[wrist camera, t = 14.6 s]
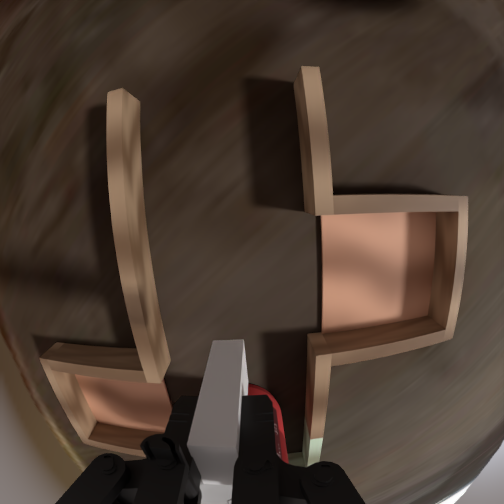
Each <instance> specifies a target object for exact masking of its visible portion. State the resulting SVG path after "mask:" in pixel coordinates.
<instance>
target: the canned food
mask: <svg viewBox="0 0 504 504" xmlns="http://www.w3.org/2000/svg"><path fill="white" fill-rule="evenodd" d="M266 394H267V395H268V397H269V398H270V400H271V401H272V402H273V415H274V429H275V444H276V452H277V455H278V456H279V458H280V459H282V460H283V461H284V462H286V463H288V464H289V462H288V455H287V448H286V441H285V434H284V427H283V420H282V414H281V409H280V406H279V404H278V403H277V401H276V399H275V398H274V396H273V395H272V394H271V393H270V392H268V391H267V390H265V389H264V388H261V387H259V386H257V385H253V384H248V395H266ZM200 490H201V492H202V499H201V504H231V498H232V485H214V484H204V483H203V481H202V479H201V482H200Z"/></svg>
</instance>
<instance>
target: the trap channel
mask: <svg viewBox="0 0 504 504" xmlns="http://www.w3.org/2000/svg"><path fill="white" fill-rule="evenodd" d="M294 93H295V102H296V111H297V120H298V130H299V140H300V152H301V164H302V177H303V192H304V209H305V212H306V213H309V214H312V215H315V216H321V245H322V323H321V332H318V333H310V334H307V375H306V400H305V419H304V435H303V448H302V452H297V453H288V454H287V455H288V462H289V464H291V465H295V466H301V467H308V466H310V465H312V464H314V463H316V462H319V459H320V453H321V447H322V440H323V434H324V426H325V419H326V411H327V402H328V393H329V383H330V371H331V366H338V365H344V364H349V363H355V362H360V361H366V360H371V359H376V358H380V357H385V356H390V355H394V354H398V353H402V352H406V351H410V350H414V349H418V348H422V347H425V346H429V345H433V344H436V343H439V342H443V341H446V340H449V339H452V338H453V334H454V329H455V325H456V320H457V315H458V310H459V305H460V299H461V293H462V286H463V279H464V271H465V261H466V250H467V233H468V196H457V195H441V194H338V195H333V187H332V172H331V159H330V148H329V137H328V128H327V119H326V111H325V103H324V96H323V89H322V82H321V76H320V69H319V67H307V66H301V68H300V71H299V73H298V75H297V78H296V80H295V82H294ZM107 171H108V187H109V199H110V210H111V219H112V228H113V235H114V243H115V249H116V256H117V262H118V268H119V274H120V279H121V284H122V289H123V294H124V299H125V303H126V308H127V312H128V316H129V321H130V325H131V329H132V333H133V336H134V340H135V344H136V347H137V349H136V348H116V347H101V346H88V345H78V344H68V343H60V342H56V343H55V344H54V345H53V346H52V347H51V348H50V349H48V350H47V351H46V352H45V353H44V354H43V355H42V356H41V357H40V358H39V359H40V361H41V364H42V366H43V368H44V371H45V373H46V375H47V377H48V379H49V382H50V384H51V386H52V388H53V390H54V392H55V394H56V396H57V398H58V400H59V402H60V404H61V406H62V407H63V409H64V411H65V413H66V415H67V416H68V418H69V420H70V422H71V423H72V425H73V427H74V428H75V430H76V432H77V433H78V435H79V436H80V438H81V440H82V441H83V443H84V444H88V445H91V446H95V447H99V448H103V449H107V450H112V451H116V452H121V453H126V454H132V455H137V456H143V457H146V456H145V454H144V452H143V450H142V449H141V447H140V444H141V443H142V441H143V440H144V439H146V438H147V437H148V436H151V435H154V434H164V432H165V429H166V426H167V423H168V421H169V417H170V414H171V411H172V409H173V407H172V404H171V401H170V398H169V394H168V391H167V388H166V385H165V381H164V375H165V373H166V371H167V368H168V366H169V364H170V361H171V359H170V355H169V350H168V346H167V342H166V337H165V333H164V328H163V324H162V319H161V314H160V309H159V303H158V298H157V293H156V287H155V281H154V275H153V269H152V262H151V255H150V248H149V240H148V232H147V224H146V215H145V205H144V193H143V180H142V164H141V141H140V101H138V100H137V99H136V98H135V97H133V96H132V95H131V94H130V93H128V92H127V91H126V90H124V89H123V88H121V89H118V90H114V91H111V92H108V95H107Z"/></svg>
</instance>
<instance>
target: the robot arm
mask: <svg viewBox="0 0 504 504" xmlns="http://www.w3.org/2000/svg"><path fill="white" fill-rule="evenodd" d="M140 447H141V449H142V450H143V452H144V454H145V456H146V457H147V458H146V459H142V460H133V461H124V460H123V459H122V458H121V457H120V456H118V455H116V454H112V453H106V454H102V455H99V456H98V457H97V458H95V459H94V460H93V461H92V463H91V464H90V465H89V466H88V467H87V468H86V469H85V471H84V472H83V473H82V474H81V475H80V476H79V477H78V479H77V480H76V481H75V482H74V483H73V484H72V485H71V486H70V488H69V489H68V490H67V491H66V492H65V493H64V494H63V496H62V497H61V498H60V499H59V500H58V501H57V502H56V503H55V504H201V499H202V492H201V490H200V482H201V479H202V481H203V483H204V484H214V485H232V498H231V504H365V502H364V501H363V499H362V498H361V496H360V495H359V493H358V492H357V490H356V489H355V487H354V486H353V484H352V482H351V481H350V479H349V478H348V476H347V475H346V473H345V471H344V470H343V469H342V468H341V467H340V466H339V465H337V464H335V463H333V462H326V461H322V462H316V463H314V464H312V465H310V466H308V467H301V466H295V465H291V464H288V463H286V462H284V461H283V460H282V459H280V458H279V456H278V455H277V452H276V444H275V429H274V415H273V402H272V401H271V400H270V398H269V397H268V395H267V394H266V395H248V375H247V366H246V357H245V347H244V339H241V340H213V343H212V347H211V350H210V354H209V358H208V362H207V366H206V370H205V374H204V378H203V382H202V386H201V390H200V394H199V396H181V397H180V398H179V399H178V400H177V401H176V402H175V403H174V406H173V409H172V411H171V414H170V417H169V421H168V423H167V426H166V429H165V432H164V434H154V435H151V436H148V437H147V438H146V439H144V440H143V441H142V443H141V444H140Z"/></svg>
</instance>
